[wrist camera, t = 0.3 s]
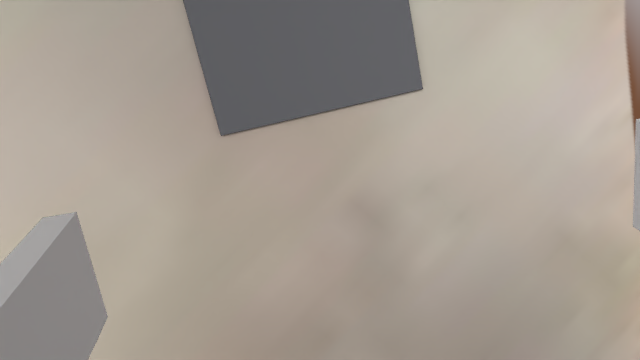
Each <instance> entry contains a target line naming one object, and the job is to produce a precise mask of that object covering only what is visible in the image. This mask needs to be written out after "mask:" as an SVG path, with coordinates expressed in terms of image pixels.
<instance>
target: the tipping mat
mask: <svg viewBox="0 0 640 360" xmlns="http://www.w3.org/2000/svg"><path fill="white" fill-rule="evenodd" d="M183 2H184V5H185V9H186V13H187V16H188V20H189V23H190V27H191V31H192V34H193V38H194V41H195V45H196V48H197V52H198V56H199V59H200V63H201V66H202V70H203V74H204V77H205V81H206V84H207V88H208V91H209V95H210V99H211V102H212V106H213V109H214V113H215V117H216V120H217V124H218V127H219V131H220V134H221V136H222V135H226V134H231V133H235V132H239V131H243V130H248V129H252V128H256V127H261V126H265V125H269V124H274V123H278V122H282V121H286V120H291V119H295V118H299V117H304V116H308V115H312V114H317V113H321V112H325V111H329V110H334V109H338V108H342V107H347V106H351V105H355V104H360V103H364V102H368V101H372V100H377V99H381V98H385V97H390V96H394V95H398V94H403V93H407V92H411V91H415V90H420V89H423V87H422V81H421V75H420V69H419V62H418V56H417V50H416V44H415V38H414V32H413V25H412V19H411V13H410V7H409V1H408V0H183Z"/></svg>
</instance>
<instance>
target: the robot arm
mask: <svg viewBox="0 0 640 360" xmlns="http://www.w3.org/2000/svg"><path fill="white" fill-rule="evenodd" d="M633 227H635V228H636V229H638V230H639V231H640V119H636V138H635V174H634V210H633ZM107 317H108V316H107V312H106V309H105V306H104V302H103V299H102V296H101V292H100V289H99V286H98V282H97V279H96V276H95V272H94V269H93V266H92V262H91V259H90V256H89V252H88V249H87V246H86V242H85V239H84V235H83V232H82V229H81V225H80V222H79V219H78V215H77V212H74V213H68V214H62V215H56V216H50V217H44V218H42V219H41V220H40V221H39V222H38V223H37V224H36V226H35V227H34V228H33V229H32V230H31V231H30V232H29V233H28V234H27V235H26V236H25V238H24V239H23V240H22V241H21V242H20V243H19V244H18V245H17V246H16V247H15V248H14V250H13V251H12V252H11V253H10V254H9V255H8V256H7V257H6V258H5V259H4V260H3V262H2V263H1V264H0V360H88V359H89V357H90V354H91V352H92V350H93V348H94V346H95V343H96V341H97V339H98V337H99V335H100V333H101V330H102V328H103V326H104V324H105V322H106V320H107Z"/></svg>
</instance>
